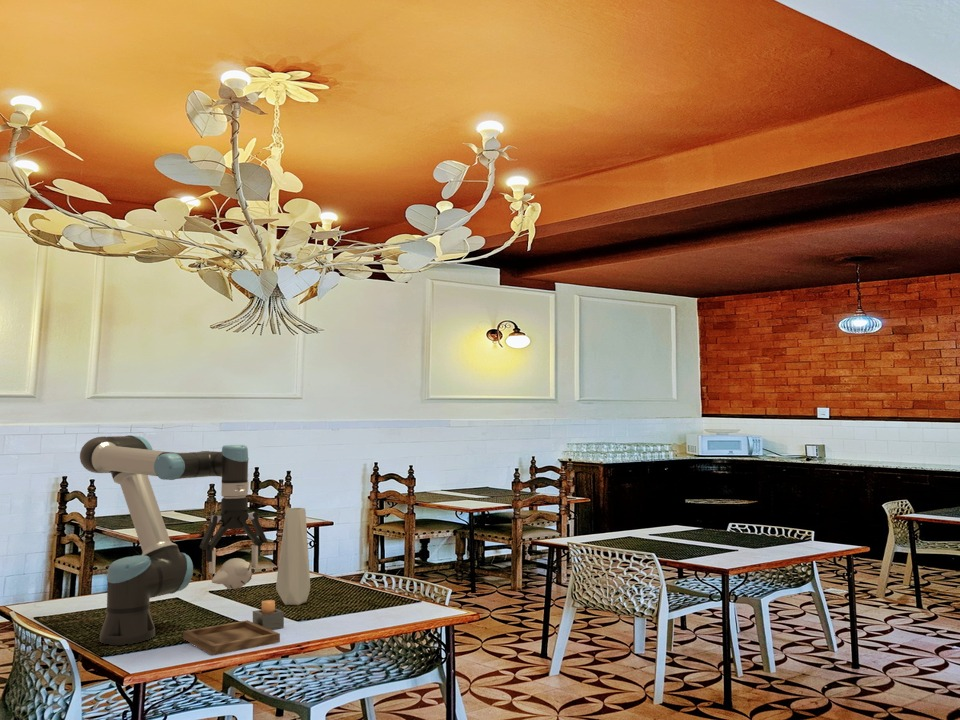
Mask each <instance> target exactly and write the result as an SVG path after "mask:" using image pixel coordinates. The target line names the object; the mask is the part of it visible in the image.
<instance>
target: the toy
mask: <svg viewBox="0 0 960 720" xmlns="http://www.w3.org/2000/svg"><path fill="white" fill-rule="evenodd" d="M255 571H256V568H252V566H251V562H249V561H246V560H245V559H244V558H239V557H236V558H235V557H234V558H230V559H228V560H227V561H225V562H224V563H223V564H222V565H221V566H220V569H219V570H217V571H215V574H214V575H213V577H212V578H211V583H212V584H217V585H223V586H224V587H225V588H226V590H229V589H231V590H237V589H240V588H242V587H243V586H245V585H246V584H247V583H249V582H251V580H252V579H253V578H252V577H253V574H254V572H255Z"/></svg>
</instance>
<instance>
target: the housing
mask: <svg viewBox="0 0 960 720" xmlns="http://www.w3.org/2000/svg"><path fill="white" fill-rule="evenodd" d="M284 621H285V612H284V611H283V610H281V609H278V608H276V607H275V612H272V613H266V614H264V613H262V609H258V610H253V611H252V622H253V623H255V624H258V625H260V626H263V627H265V628H267V629H270V630H272V631H275V630H280V629H284V628H285V625H284V624H285V622H284Z"/></svg>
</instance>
